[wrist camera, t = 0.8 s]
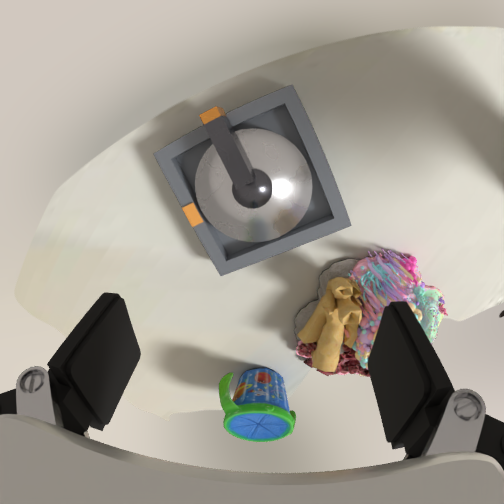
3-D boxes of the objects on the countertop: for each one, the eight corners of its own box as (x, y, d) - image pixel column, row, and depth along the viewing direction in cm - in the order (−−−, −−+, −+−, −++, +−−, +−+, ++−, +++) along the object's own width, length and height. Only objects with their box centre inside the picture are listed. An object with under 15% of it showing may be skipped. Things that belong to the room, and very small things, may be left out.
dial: (326, 212, 30) (334, 227, 26) (229, 251, 33) (222, 271, 29) (271, 88, 25) (270, 81, 21) (170, 139, 28) (152, 142, 24)
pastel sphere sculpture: (281, 368, 44) (280, 413, 36) (310, 236, 34) (320, 274, 26) (410, 371, 44) (424, 409, 35) (465, 260, 33) (498, 292, 25)
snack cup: (311, 390, 46) (314, 437, 37) (264, 408, 50) (261, 452, 40) (259, 341, 42) (253, 394, 33) (209, 365, 45) (196, 413, 36)
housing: (290, 88, 27) (292, 84, 24) (345, 216, 32) (351, 226, 29) (164, 150, 31) (152, 154, 28) (225, 263, 36) (220, 277, 33)
